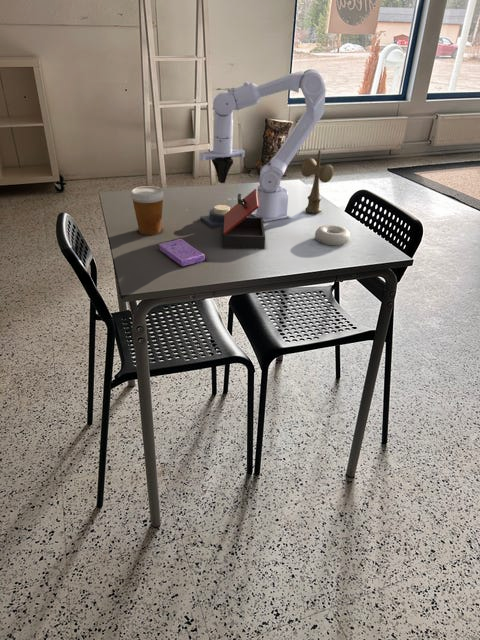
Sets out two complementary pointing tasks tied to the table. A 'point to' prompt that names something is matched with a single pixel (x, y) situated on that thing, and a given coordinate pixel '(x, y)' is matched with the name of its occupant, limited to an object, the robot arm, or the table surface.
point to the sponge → (182, 252)
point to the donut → (332, 235)
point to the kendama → (316, 181)
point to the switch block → (213, 219)
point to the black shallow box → (246, 234)
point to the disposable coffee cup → (148, 208)
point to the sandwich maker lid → (240, 211)
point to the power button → (221, 209)
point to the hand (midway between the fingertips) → (221, 182)
